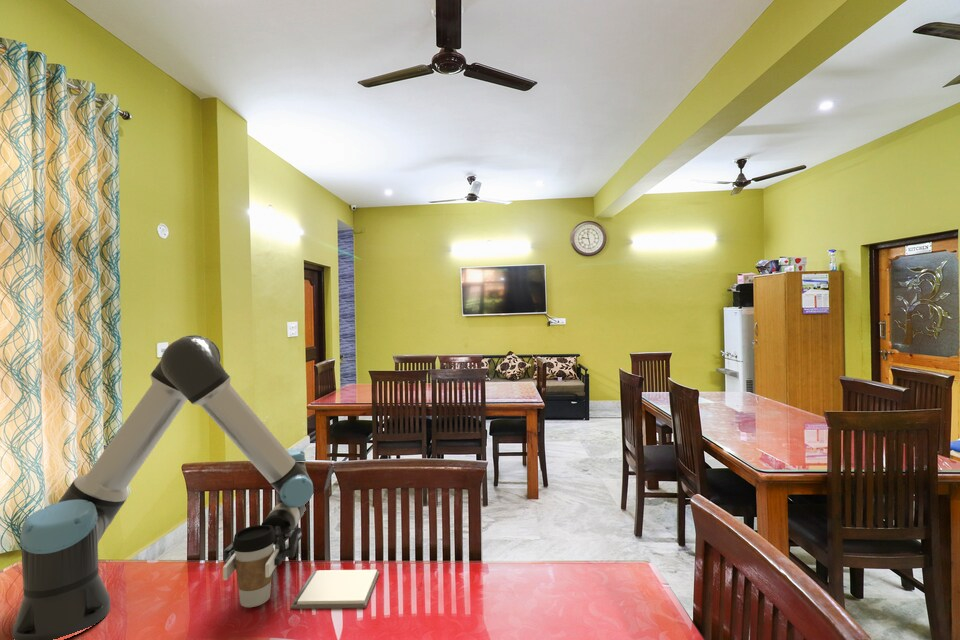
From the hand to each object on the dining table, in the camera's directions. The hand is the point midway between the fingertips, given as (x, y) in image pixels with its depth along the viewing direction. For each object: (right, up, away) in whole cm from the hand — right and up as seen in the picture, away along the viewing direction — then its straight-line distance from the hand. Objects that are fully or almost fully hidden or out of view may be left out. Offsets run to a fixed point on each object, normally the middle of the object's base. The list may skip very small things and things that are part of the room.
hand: (246, 572), depth 98 cm
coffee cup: (0, -9, +5) cm, 10 cm away
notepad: (+16, -9, +10) cm, 21 cm away
